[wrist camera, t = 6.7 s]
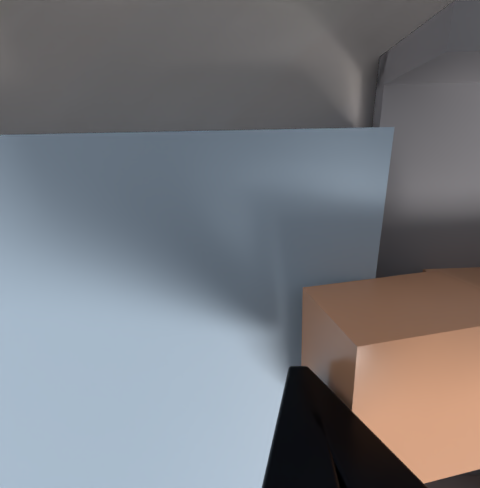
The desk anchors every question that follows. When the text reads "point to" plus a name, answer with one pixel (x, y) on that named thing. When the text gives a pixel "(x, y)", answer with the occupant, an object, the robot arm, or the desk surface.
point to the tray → (433, 153)
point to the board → (168, 294)
